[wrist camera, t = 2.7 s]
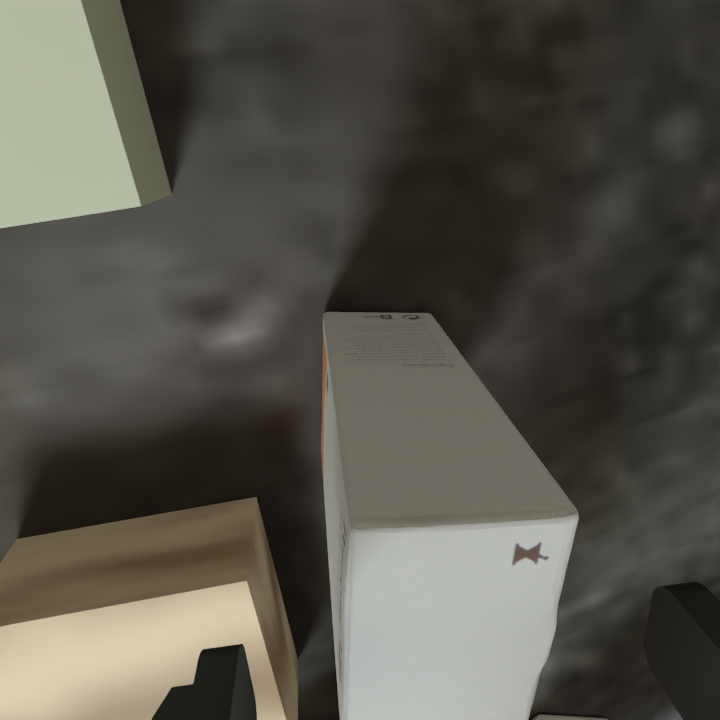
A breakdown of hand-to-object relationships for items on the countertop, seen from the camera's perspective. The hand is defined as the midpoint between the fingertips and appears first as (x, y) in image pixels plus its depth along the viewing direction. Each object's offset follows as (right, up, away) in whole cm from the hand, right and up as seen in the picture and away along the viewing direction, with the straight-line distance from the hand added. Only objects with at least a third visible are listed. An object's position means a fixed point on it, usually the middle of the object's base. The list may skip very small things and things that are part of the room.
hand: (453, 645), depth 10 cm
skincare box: (-1, +5, +11) cm, 12 cm away
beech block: (-11, -6, +14) cm, 19 cm away
